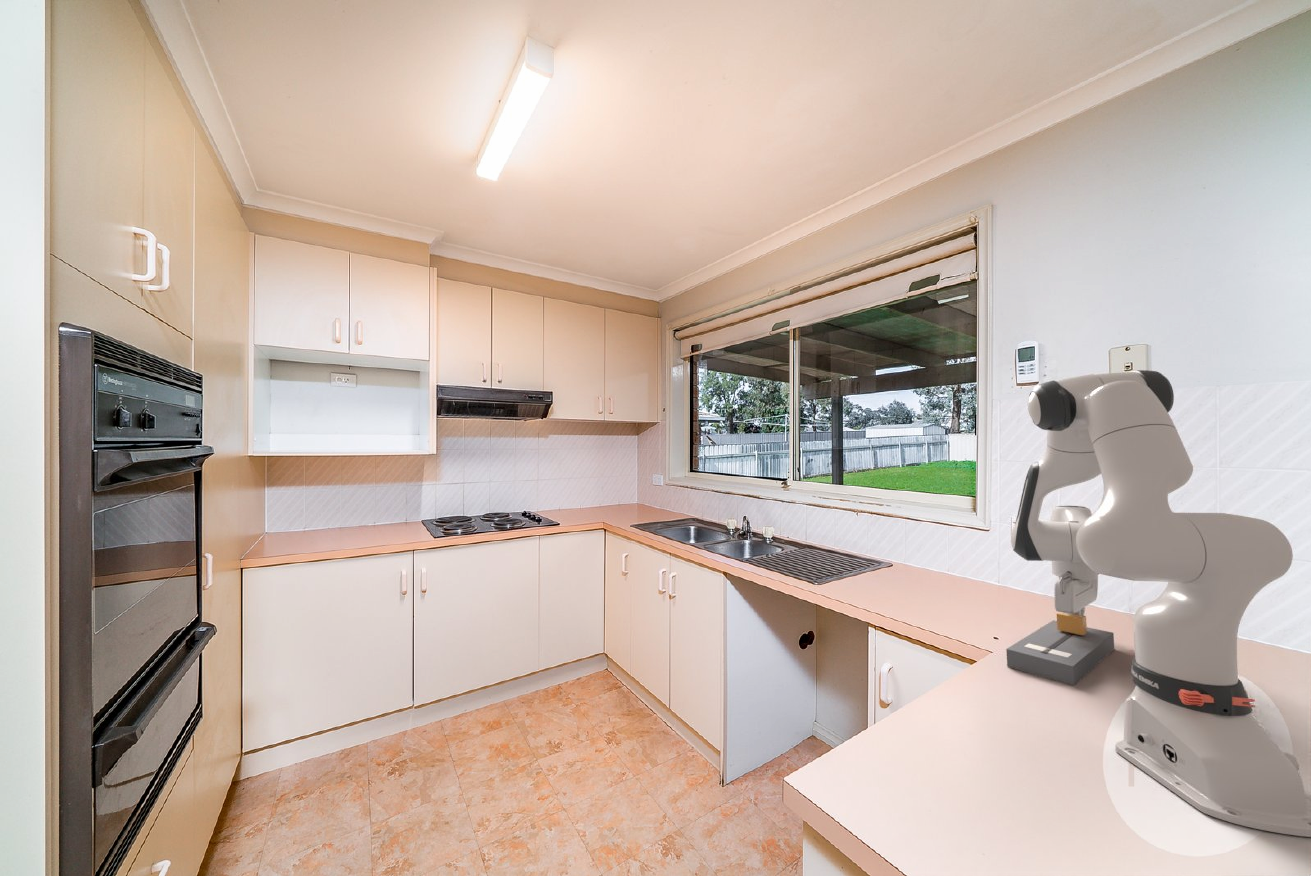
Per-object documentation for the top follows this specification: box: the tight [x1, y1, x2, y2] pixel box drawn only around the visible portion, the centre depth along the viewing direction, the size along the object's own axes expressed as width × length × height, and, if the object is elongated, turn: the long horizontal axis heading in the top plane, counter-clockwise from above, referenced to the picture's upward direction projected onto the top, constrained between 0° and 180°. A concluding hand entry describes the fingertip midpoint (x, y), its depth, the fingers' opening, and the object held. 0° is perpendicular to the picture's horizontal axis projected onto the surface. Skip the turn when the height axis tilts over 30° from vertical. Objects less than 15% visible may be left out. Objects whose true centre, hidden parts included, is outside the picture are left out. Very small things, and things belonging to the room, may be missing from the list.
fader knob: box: [1056, 611, 1087, 635], centre depth 121 cm, size 3×5×4 cm, turn 35°
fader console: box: [1005, 619, 1115, 687], centre depth 116 cm, size 32×12×4 cm, turn 125°
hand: (1077, 624), depth 123 cm, fingers closed
